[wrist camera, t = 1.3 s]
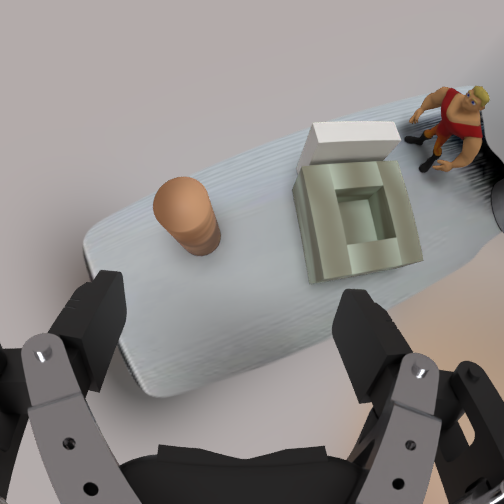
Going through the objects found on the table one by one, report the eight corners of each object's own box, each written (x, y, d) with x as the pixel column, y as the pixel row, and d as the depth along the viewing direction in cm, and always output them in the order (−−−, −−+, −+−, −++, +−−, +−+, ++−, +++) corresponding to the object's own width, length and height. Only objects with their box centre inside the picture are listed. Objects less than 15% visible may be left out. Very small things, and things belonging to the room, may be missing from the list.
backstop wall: (362, 162, 32) (393, 121, 23) (366, 178, 32) (401, 140, 23) (296, 168, 32) (312, 122, 23) (299, 184, 31) (318, 142, 22)
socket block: (374, 183, 32) (397, 160, 26) (394, 268, 30) (423, 260, 24) (291, 190, 31) (301, 166, 26) (309, 284, 30) (324, 279, 24)
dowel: (217, 214, 31) (205, 172, 21) (223, 252, 30) (212, 225, 20) (179, 220, 30) (151, 182, 21) (183, 258, 30) (155, 235, 20)
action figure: (392, 124, 33) (448, 50, 19) (412, 122, 34) (468, 54, 19) (424, 189, 32) (502, 133, 17) (443, 184, 32) (518, 131, 17)
